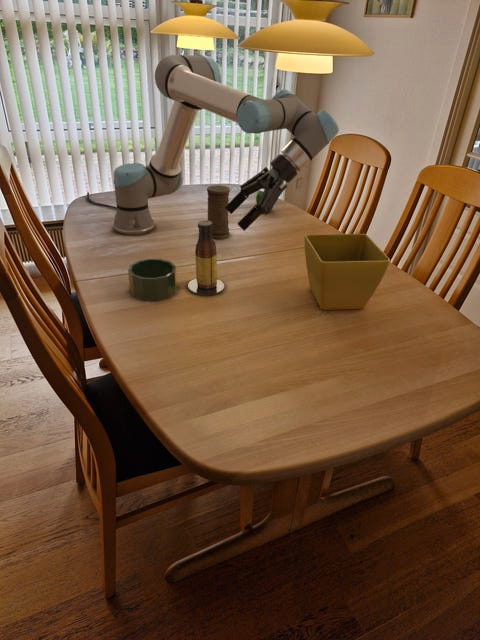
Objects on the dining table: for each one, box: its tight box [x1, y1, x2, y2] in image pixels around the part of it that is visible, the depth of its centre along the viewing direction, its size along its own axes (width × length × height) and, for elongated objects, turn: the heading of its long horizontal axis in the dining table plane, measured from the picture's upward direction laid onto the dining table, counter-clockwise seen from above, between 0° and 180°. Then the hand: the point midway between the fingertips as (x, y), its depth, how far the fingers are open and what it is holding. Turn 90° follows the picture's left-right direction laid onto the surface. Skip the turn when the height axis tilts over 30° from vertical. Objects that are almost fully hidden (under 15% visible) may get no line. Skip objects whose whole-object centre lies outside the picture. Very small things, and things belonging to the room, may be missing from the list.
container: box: [206, 184, 231, 240], centre depth 164 cm, size 9×9×18 cm
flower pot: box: [304, 233, 391, 311], centre depth 126 cm, size 19×19×17 cm
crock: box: [127, 258, 178, 302], centre depth 128 cm, size 13×13×7 cm
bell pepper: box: [255, 190, 274, 211], centre depth 193 cm, size 8×8×10 cm
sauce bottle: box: [194, 219, 218, 289], centre depth 128 cm, size 7×6×20 cm
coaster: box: [187, 278, 225, 297], centre depth 133 cm, size 11×11×1 cm
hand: (233, 218), depth 124 cm, fingers open, 13 cm apart
